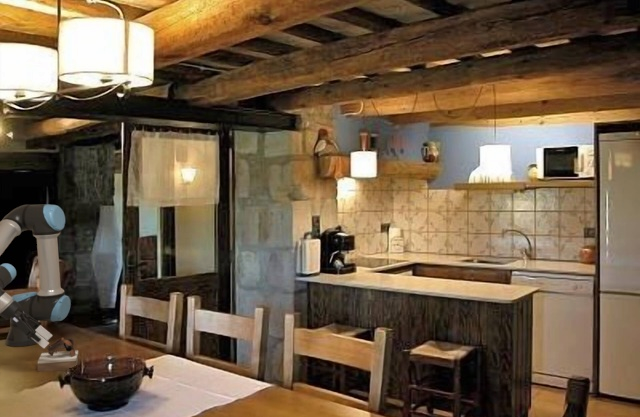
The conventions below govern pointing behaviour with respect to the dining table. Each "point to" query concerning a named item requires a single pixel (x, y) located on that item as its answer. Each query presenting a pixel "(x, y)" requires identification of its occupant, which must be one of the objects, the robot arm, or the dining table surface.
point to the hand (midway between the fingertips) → (48, 341)
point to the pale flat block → (57, 361)
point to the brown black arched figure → (62, 346)
